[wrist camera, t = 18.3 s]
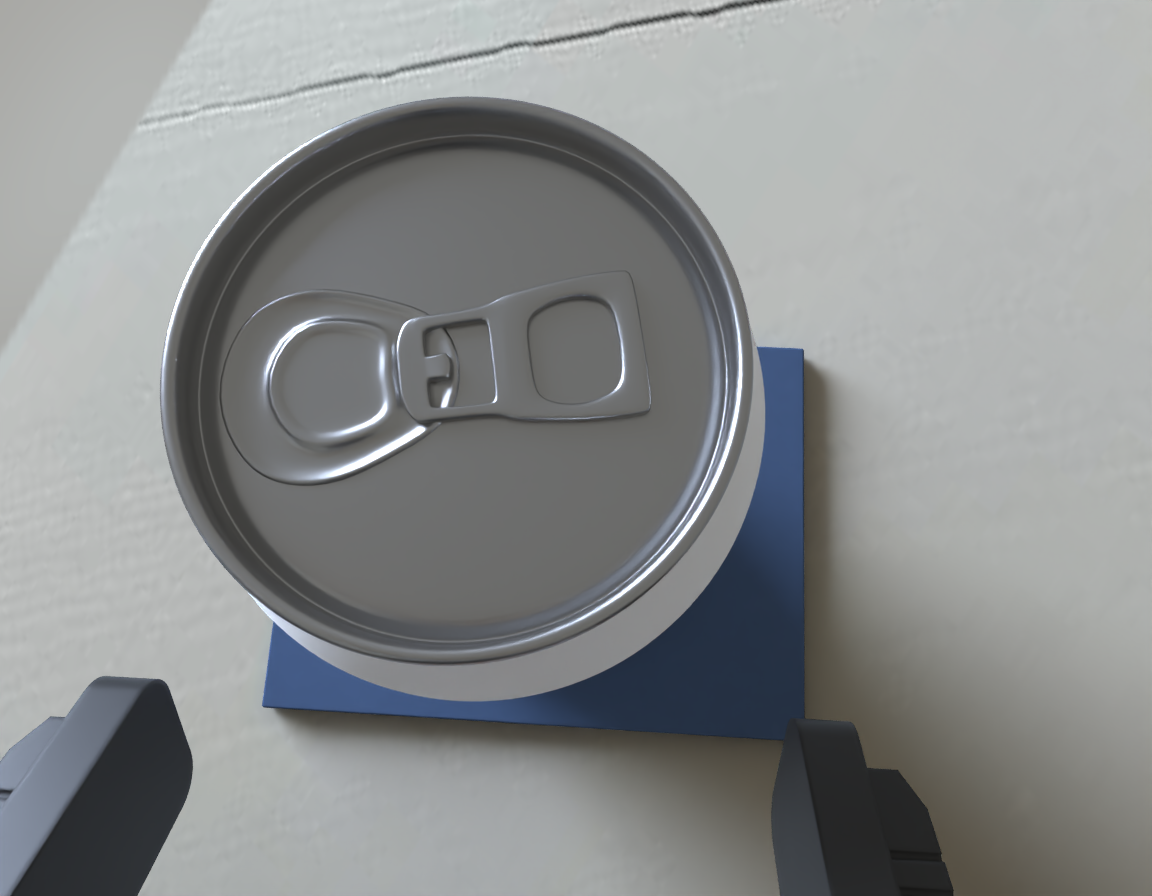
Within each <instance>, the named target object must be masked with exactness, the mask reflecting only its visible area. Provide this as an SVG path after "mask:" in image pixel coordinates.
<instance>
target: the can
mask: <svg viewBox="0 0 1152 896" xmlns="http://www.w3.org/2000/svg"><path fill="white" fill-rule="evenodd" d="M160 406H161V420H162V429H163V436H164V442H165V447H166V452H167V456H168V460H169V464H170V468H171V471H172V474H173V477H174V480H175V483H176V486H177V488H178V491H179V494H180V496H181V498H182V501H183V503H184V505H185V507H186V509H187V511H188V513H189V515H190V517H191V519H192V521H193V523H194V525H195V526H196V528H197V530H198V532H199V533H200V535H201V536H202V538H203V540H204V541H205V543H206V544H207V546H208V547H209V548H210V550H211V551H212V552H213V554H214V555H215V557H216V558H217V559H218V560H219V562H220V563H221V564H222V565H223V566H224V568H225V569H226V570H227V571H228V572H229V573H230V574H231V575H232V576H233V578H234V579H235V580H236V581H237V582H238V583H239V584H240V585H241V586H242V587H243V588H244V589H245V590H247V592H248V593H249V594H250V595H251V597H252V598H253V599H254V600H255V602H256V603H257V604H258V605H259V606H260V607H261V609H262V610H263V611H264V612H265V613H266V614H267V615H268V616H269V617H270V618H271V619H272V620H273V621H274V622H275V623H276V624H277V625H278V626H279V627H280V628H281V629H282V630H283V631H285V632H286V633H287V634H288V635H289V636H290V637H292V638H293V639H294V640H295V641H297V642H298V643H299V644H301V645H302V646H303V647H305V648H306V649H307V650H309V651H310V652H312V653H313V654H315V655H316V656H318V657H320V658H321V659H323V660H324V661H326V662H328V663H330V664H331V665H333V666H335V667H337V668H339V669H341V670H343V671H345V672H347V673H349V674H351V675H353V676H356V677H358V678H360V679H363V680H365V681H368V682H371V683H373V684H376V685H379V686H382V687H385V688H388V689H392V690H396V691H400V692H403V693H407V694H412V695H416V696H421V697H427V698H434V699H441V700H451V701H497V700H506V699H515V698H521V697H527V696H532V695H537V694H541V693H545V692H549V691H553V690H556V689H559V688H563V687H566V686H569V685H572V684H574V683H577V682H580V681H582V680H585V679H587V678H590V677H592V676H594V675H597V674H599V673H601V672H603V671H605V670H607V669H609V668H611V667H613V666H615V665H616V664H618V663H620V662H622V661H623V660H625V659H627V658H628V657H630V656H631V655H633V654H635V653H636V652H638V651H639V650H640V649H642V648H643V647H645V646H646V645H647V644H649V643H650V642H651V641H653V640H654V639H655V638H656V637H658V636H659V635H660V634H661V633H662V632H664V631H665V630H666V629H667V628H668V627H669V626H671V625H672V624H673V623H674V622H675V621H676V620H677V619H678V618H679V617H680V616H681V615H682V614H683V613H684V612H685V611H686V610H687V609H688V608H689V607H690V606H691V605H692V603H693V602H694V601H695V600H696V599H697V598H698V596H699V595H700V594H701V593H702V592H703V590H704V589H705V588H706V586H707V585H708V584H709V582H710V581H711V580H712V578H713V577H714V575H715V574H716V572H717V571H718V569H719V568H720V566H721V565H722V563H723V561H724V560H725V558H726V556H727V555H728V553H729V551H730V549H731V547H732V546H733V544H734V542H735V539H736V537H737V535H738V533H739V531H740V529H741V526H742V524H743V522H744V519H745V517H746V514H747V511H748V508H749V506H750V502H751V499H752V496H753V493H754V489H755V486H756V482H757V478H758V474H759V469H760V464H761V459H762V452H763V444H764V434H765V395H764V384H763V376H762V370H761V364H760V359H759V355H758V350H757V347H756V343H755V339H754V336H753V333H752V330H751V327H750V324H749V318H748V313H747V309H746V304H745V301H744V297H743V293H742V290H741V287H740V284H739V281H738V278H737V276H736V273H735V270H734V268H733V265H732V263H731V261H730V259H729V256H728V254H727V252H726V250H725V248H724V246H723V244H722V242H721V241H720V239H719V237H718V235H717V234H716V232H715V230H714V229H713V227H712V225H711V224H710V222H709V221H708V219H707V218H706V216H705V215H704V214H703V212H702V211H701V209H700V208H699V207H698V206H697V204H696V203H695V202H694V200H693V199H692V198H691V197H690V196H689V195H688V193H687V192H686V191H685V190H684V189H683V188H682V187H681V186H680V185H679V184H678V183H677V182H676V180H675V179H674V178H673V177H671V176H670V175H669V174H668V173H667V172H666V171H665V170H664V169H663V168H662V167H660V166H659V165H658V164H657V163H656V162H655V161H653V160H652V159H651V158H649V157H648V156H647V155H646V154H644V153H643V152H642V151H640V150H639V149H637V148H636V147H634V146H633V145H632V144H630V143H628V142H627V141H625V140H624V139H622V138H620V137H619V136H617V135H615V134H613V133H611V132H610V131H608V130H606V129H604V128H602V127H600V126H598V125H596V124H594V123H591V122H589V121H587V120H584V119H582V118H579V117H577V116H574V115H572V114H569V113H566V112H563V111H560V110H556V109H553V108H550V107H546V106H542V105H538V104H533V103H528V102H523V101H517V100H511V99H502V98H491V97H447V98H436V99H427V100H421V101H415V102H410V103H405V104H400V105H396V106H392V107H388V108H384V109H381V110H377V111H374V112H371V113H368V114H365V115H362V116H360V117H357V118H355V119H352V120H349V121H347V122H345V123H343V124H340V125H338V126H336V127H334V128H332V129H330V130H328V131H326V132H324V133H322V134H320V135H318V136H316V137H315V138H313V139H311V140H309V141H308V142H306V143H304V144H303V145H301V146H300V147H298V148H297V149H295V150H294V151H292V152H290V153H289V154H288V155H286V156H285V157H284V158H282V159H281V160H279V161H278V162H277V163H276V164H274V165H273V166H272V167H271V168H269V169H268V170H267V171H266V172H265V173H263V174H262V175H261V176H260V177H259V178H258V179H257V180H256V181H254V182H253V183H252V184H251V185H250V186H249V187H248V188H247V189H246V190H245V191H244V192H243V193H242V194H241V195H240V196H239V197H238V199H237V200H236V201H235V202H234V203H233V204H232V205H231V207H230V208H229V209H228V210H227V211H226V213H225V214H224V215H223V216H222V218H221V219H220V220H219V222H218V223H217V224H216V226H215V227H214V228H213V230H212V231H211V233H210V234H209V236H208V237H207V239H206V240H205V242H204V243H203V245H202V247H201V248H200V250H199V252H198V253H197V255H196V257H195V259H194V261H193V263H192V265H191V267H190V269H189V271H188V273H187V275H186V277H185V279H184V282H183V284H182V286H181V289H180V291H179V294H178V297H177V299H176V302H175V305H174V308H173V312H172V315H171V318H170V322H169V326H168V330H167V334H166V339H165V344H164V351H163V357H162V366H161V380H160Z"/></svg>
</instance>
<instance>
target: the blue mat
mask: <svg viewBox="0 0 1152 896" xmlns="http://www.w3.org/2000/svg"><path fill="white" fill-rule="evenodd" d="M757 350H758V355H759V359H760V364H761V370H762V376H763V384H764V395H765V434H764V444H763V452H762V459H761V464H760V469H759V474H758V478H757V482H756V486H755V489H754V493H753V496H752V499H751V502H750V506H749V508H748V511H747V514H746V517H745V519H744V522H743V524H742V526H741V529H740V531H739V533H738V535H737V537H736V539H735V542H734V544H733V546H732V547H731V549H730V551H729V553H728V555H727V556H726V558H725V560H724V561H723V563H722V565H721V566H720V568H719V569H718V571H717V572H716V574H715V575H714V577H713V578H712V580H711V581H710V582H709V584H708V585H707V586H706V588H705V589H704V590H703V592H702V593H701V594H700V595H699V596H698V598H697V599H696V600H695V601H694V602H693V603H692V605H691V606H690V607H689V608H688V609H687V610H686V611H685V612H684V613H683V614H682V615H681V616H680V617H679V618H678V619H677V620H676V621H675V622H674V623H673V624H672V625H671V626H669V627H668V628H667V629H666V630H665V631H664V632H662V633H661V634H660V635H659V636H658V637H656V638H655V639H654V640H653V641H651V642H650V643H649V644H647V645H646V646H645V647H643V648H642V649H640V650H639V651H638V652H636V653H635V654H633V655H631V656H630V657H628V658H627V659H625V660H623V661H622V662H620V663H618V664H616V665H615V666H613V667H611V668H609V669H607V670H605V671H603V672H601V673H599V674H597V675H594V676H592V677H590V678H587V679H585V680H582V681H580V682H577V683H574V684H572V685H569V686H566V687H563V688H559V689H556V690H553V691H549V692H545V693H541V694H537V695H532V696H527V697H521V698H515V699H506V700H497V701H451V700H441V699H434V698H427V697H421V696H416V695H412V694H407V693H403V692H400V691H396V690H392V689H388V688H385V687H382V686H379V685H376V684H373V683H371V682H368V681H365V680H363V679H360V678H358V677H356V676H353V675H351V674H349V673H347V672H345V671H343V670H341V669H339V668H337V667H335V666H333V665H331V664H330V663H328V662H326V661H324V660H323V659H321V658H320V657H318V656H316V655H315V654H313V653H312V652H310V651H309V650H307V649H306V648H305V647H303V646H302V645H301V644H299V643H298V642H297V641H295V640H294V639H293V638H292V637H290V636H289V635H288V634H287V633H286V632H285V631H283V630H282V629H281V628H280V627H279V626H278V625H277V624H276V623H275V622H274V621H273V629H272V636H271V644H270V651H269V659H268V666H267V674H266V681H265V689H264V696H263V703H262V706H263V707H266V708H282V709H298V710H313V711H329V712H345V713H360V714H376V715H392V716H407V717H423V718H439V719H455V720H470V721H486V722H502V723H517V724H533V725H549V726H564V727H580V728H596V729H612V730H627V731H643V732H659V733H674V734H690V735H706V736H721V737H737V738H753V739H768V740H784V739H785V734H786V729H787V725H788V722H789V720H790V719H791V718H798V719H804V350H803V349H795V348H772V347H757Z"/></svg>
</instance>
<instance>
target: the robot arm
mask: <svg viewBox="0 0 1152 896" xmlns="http://www.w3.org/2000/svg"><path fill="white" fill-rule="evenodd" d="M192 770H193V761H192V755H191V751H190V748H189V745H188V742H187V739H186V736H185V733H184V731H183V728H182V725H181V722H180V719H179V716H178V713H177V710H176V707H175V704H174V701H173V699H172V696H171V693H170V690H169V688H168V686H167V684H166V683H165V682H164V681H163V680H160V679H146V678H128V677H111V676H102V677H99V678H97V679H96V680H94V681H93V682H92V683H91V684H90V685H89V686H88V687H87V688H86V690H85V691H84V692H83V694H82V695H81V696H80V698H79V699H78V701H77V702H76V703H75V705H74V706H73V708H72V709H71V711H70V712H69V713H68V715H67V716H66V717H49V718H48V719H47V720H46V721H44V722H43V723H42V724H41V725H39V726H38V727H37V728H36V729H34V730H33V731H32V732H31V733H29V734H28V735H27V736H26V737H24V738H23V739H22V740H20V741H19V742H18V743H17V744H15V745H14V746H13V747H12V748H10V749H9V751H8V752H7V753H6V754H5V756H4V757H3V758H2V760H1V761H0V896H137V895H138V893H139V891H140V889H141V887H142V885H143V884H144V882H145V880H146V878H147V876H148V874H149V872H150V870H151V868H152V866H153V864H154V862H155V860H156V858H157V856H158V854H159V852H160V850H161V848H162V846H163V844H164V842H165V840H166V839H167V837H168V835H169V833H170V831H171V829H172V827H173V825H174V823H175V821H176V819H177V817H178V815H179V813H180V811H181V809H182V807H183V805H184V803H185V801H186V798H187V795H188V792H189V789H190V784H191V779H192ZM771 823H772V839H773V848H774V855H775V862H776V869H777V875H778V882H779V889H780V896H953V891H954V890H953V887H952V884H951V881H950V877H949V874H948V871H947V868H946V865H945V862H942V858H941V854H942V853H941V850H940V847H939V843H938V840H937V837H936V834H935V831H934V828H933V825H932V822H931V819H930V816H929V813H928V809H927V808H926V807H925V805H924V804H923V803H922V801H921V800H920V799H919V797H918V796H917V795H916V793H915V792H914V791H913V789H912V788H911V787H910V786H909V784H908V783H907V782H906V780H905V779H904V778H903V776H902V775H901V774H900V772H899V771H898V770H891V769H874V768H867V766H866V762H865V759H864V755H863V751H862V747H861V744H860V740H859V736H858V733H857V731H856V728H855V726H854V725H853V723H852V722H849V721H833V720H816V719H798V718H791V719H790V720H789V722H788V725H787V729H786V734H785V739H784V743H783V748H782V753H781V757H780V762H779V767H778V771H777V776H776V781H775V785H774V790H773V796H772V810H771Z"/></svg>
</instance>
